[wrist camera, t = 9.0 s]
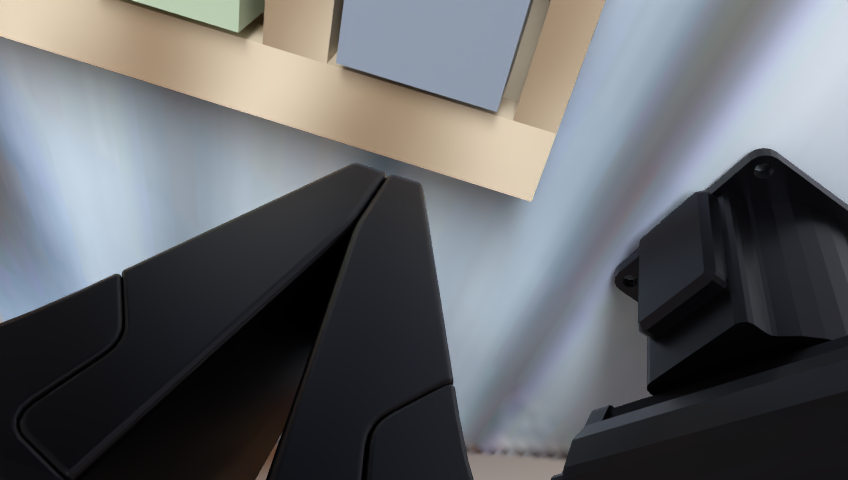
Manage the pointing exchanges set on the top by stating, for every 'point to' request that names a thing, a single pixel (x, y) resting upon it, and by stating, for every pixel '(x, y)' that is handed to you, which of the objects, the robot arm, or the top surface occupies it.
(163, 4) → the key sage
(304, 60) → the wooden slotted block
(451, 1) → the key slate
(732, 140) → the top surface
